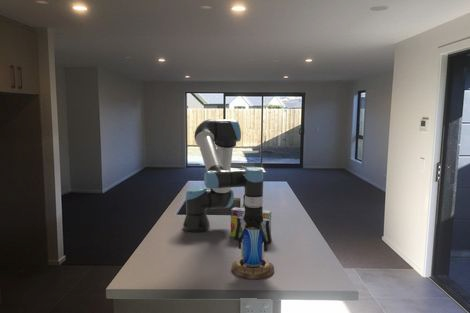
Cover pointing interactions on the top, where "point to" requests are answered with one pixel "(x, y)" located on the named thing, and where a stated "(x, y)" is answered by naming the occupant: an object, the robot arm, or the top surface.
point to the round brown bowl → (252, 270)
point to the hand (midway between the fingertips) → (252, 257)
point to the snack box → (241, 212)
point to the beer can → (252, 247)
